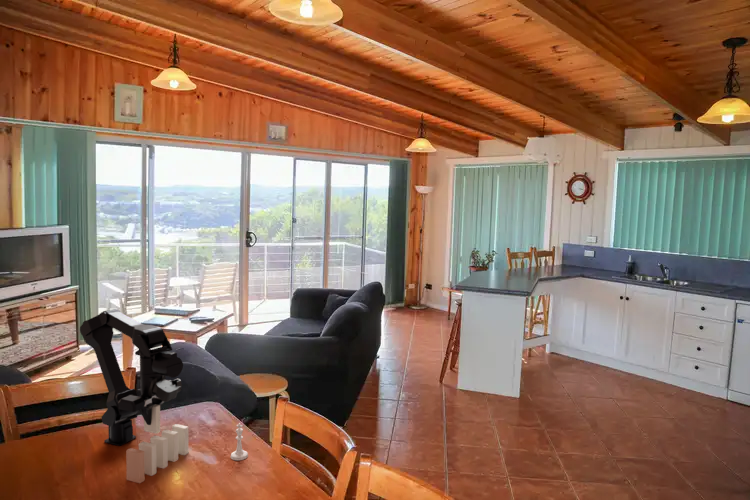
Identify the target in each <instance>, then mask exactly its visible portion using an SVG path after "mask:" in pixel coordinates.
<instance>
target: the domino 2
mask: <svg viewBox="0 0 750 500" xmlns="http://www.w3.org/2000/svg"><path fill="white" fill-rule="evenodd" d="M143 431H144V432H147V433H151V434H154V435H157V434H158V433H160V432H161V409H160V405H157V404H155V405H154V406H153V408H152V421H151V425H147V423H146V421H145V420H144V419H143Z"/></svg>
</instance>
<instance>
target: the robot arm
mask: <svg viewBox="0 0 750 500" xmlns="http://www.w3.org/2000/svg"><path fill="white" fill-rule="evenodd" d="M114 329H115V330H116V331H118V332H120V333H121V334H123V335H125V336H127V337H128V338H130V339H131V342H132V344H133V345H134V347H136V348H137V349H138V350H136V351H135V352H134V353H135V356H139V374H138V375H136V380H138V381H139V387H140V388H138V389H135V388H132V389H131V388H129V387H128V386H127V384H126V382H125V379H124V375H123V373H122V369H121V367H120V364H119V361H118V359H117V355H116V353H115V350H114V347H113V345H112V341H113V337H114ZM79 333H80V335H81V336H82V338H83V340H84V343H85V344H87V345H88V346H90V348H92V349H93V350H94V354H95V357H96V358H97V362H98V365H99V367H100V371H101V373H102V377H103V379H104V382H105V385H106V387H107V391H108V395H107V400H106V407H107V408H106V411H105V412H104V413H103V414H102V416H101V417H100V418H101V421H102V424H103V425H105V426H107V429H108V430H107V431H108V438H107V439H105V440H104V443H107V444H110V445H113V446H114V445H115V446H119V447H120V446H122V445H124V444H126V443H128V442H130V441H133V440H134V439H136V438H137V435H134V426H133V420H134V419H136V418H138V415H139V413H140V415H141V416H142V418H143V421H144V420H145V421H146V423H147V425H151V421H152V408H153V406H154V405H155V404H157V405H160V410H161V408H162V406H163V404H164V403H166V402H170V401H172V400H174V399H176V398H177V395H178V393H180V392H181V391H182V385H183V384H182V380H181V379H180V378H176V377H178V376H179V375H181V373H182V371H183V368H184V362H183V360H182V359H181V358H180V357H178V353H177V352H174V351H173V348H172V347H173V346H171V345H172V344H171V343H170V341H169V339H168V337H167V335H166V333H165V331H164V329H163V328H162V327H160V326H157V325H153V324H144V323H141V322H139V321H137V320H135V319H133V318H132V317H130V316H128V315H126V314H124V313H123V312H121V310H119V309H116V308H113V309H107V310H103V311H102V312H100V313H99V314H97V315H96V316H93V317H92V318H89V319H87V320H84V321H83V322H82V323H81V325H80V328H79ZM172 351H173V352H172ZM166 377H169V378H175V379H173V380H171V379H166ZM138 394H140V395H139V396H138Z"/></svg>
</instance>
